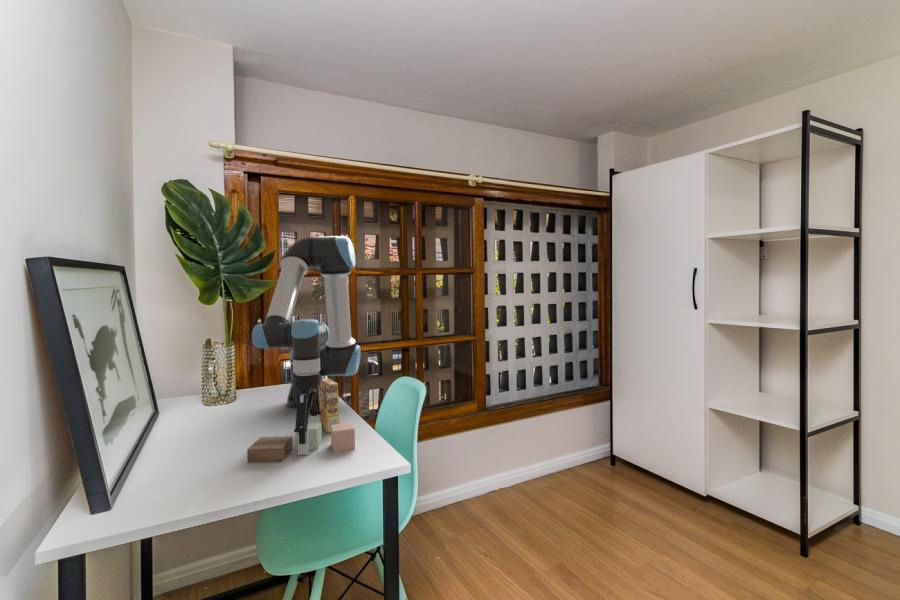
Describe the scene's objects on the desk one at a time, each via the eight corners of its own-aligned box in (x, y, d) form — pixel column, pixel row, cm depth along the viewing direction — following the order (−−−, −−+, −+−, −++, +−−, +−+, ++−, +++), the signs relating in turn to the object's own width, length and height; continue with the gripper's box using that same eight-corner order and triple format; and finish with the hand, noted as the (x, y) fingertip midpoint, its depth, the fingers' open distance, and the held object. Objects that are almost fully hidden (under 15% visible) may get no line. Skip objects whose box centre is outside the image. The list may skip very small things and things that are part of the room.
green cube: (301, 442, 132) (300, 423, 132) (321, 441, 133) (321, 422, 132) (296, 450, 126) (295, 429, 126) (317, 449, 127) (317, 429, 126)
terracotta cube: (331, 444, 130) (330, 424, 130) (352, 442, 132) (351, 422, 132) (333, 452, 125) (332, 431, 124) (355, 449, 127) (354, 428, 126)
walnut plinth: (261, 450, 127) (260, 437, 127) (292, 450, 127) (292, 436, 127) (247, 464, 118) (247, 449, 118) (281, 463, 118) (281, 448, 118)
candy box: (340, 430, 142) (338, 383, 141) (327, 433, 140) (325, 385, 139) (331, 423, 150) (329, 378, 149) (318, 425, 147) (317, 379, 146)
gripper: (303, 365, 140) (306, 431, 141) (280, 383, 116) (283, 463, 117) (328, 364, 141) (330, 430, 142) (310, 382, 116) (312, 462, 117)
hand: (309, 445), depth 129 cm, fingers open, 13 cm apart
